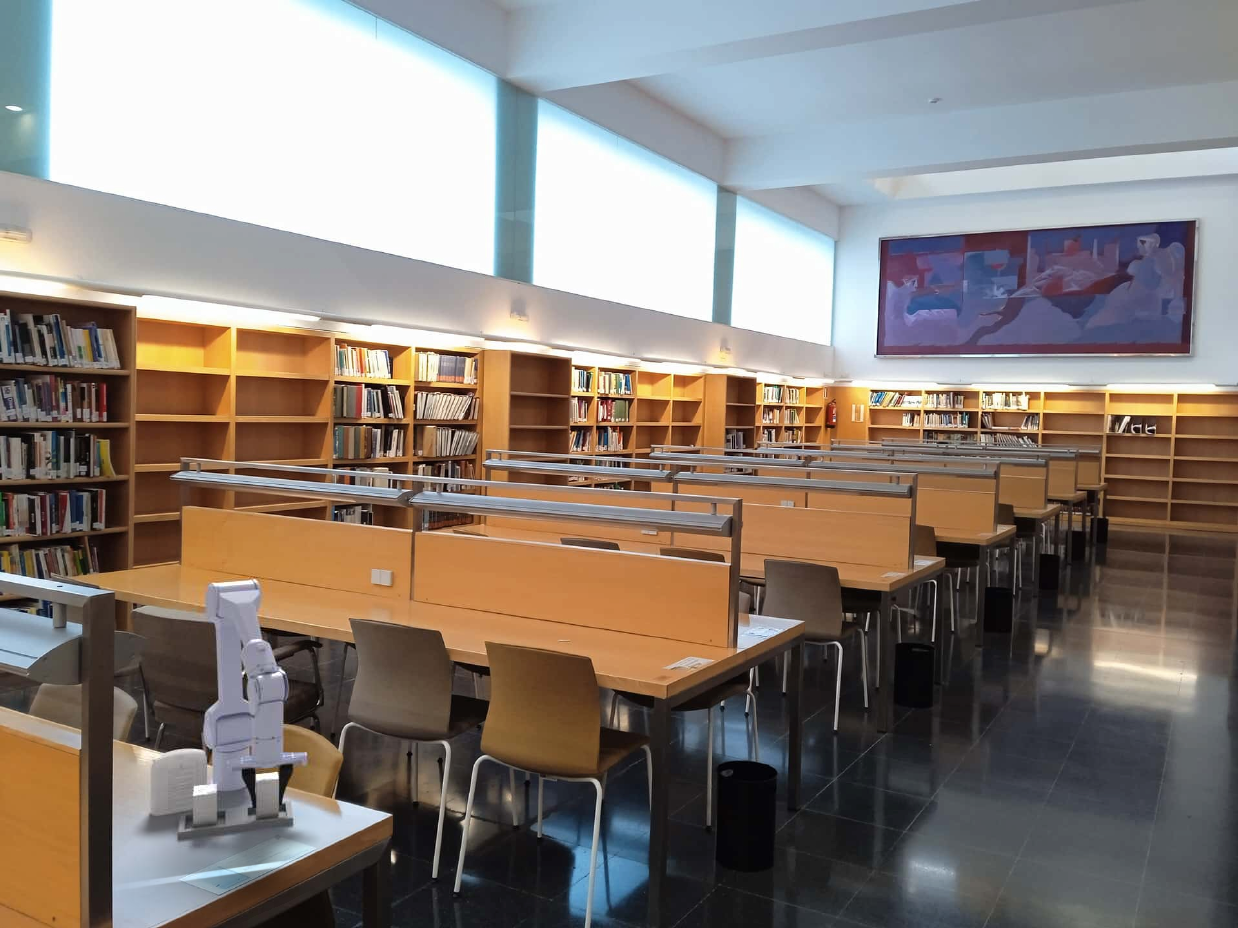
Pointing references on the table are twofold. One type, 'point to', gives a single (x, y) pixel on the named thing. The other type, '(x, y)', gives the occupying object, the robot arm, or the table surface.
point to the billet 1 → (205, 806)
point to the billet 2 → (267, 795)
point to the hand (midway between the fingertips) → (267, 804)
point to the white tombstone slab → (176, 780)
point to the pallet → (235, 821)
